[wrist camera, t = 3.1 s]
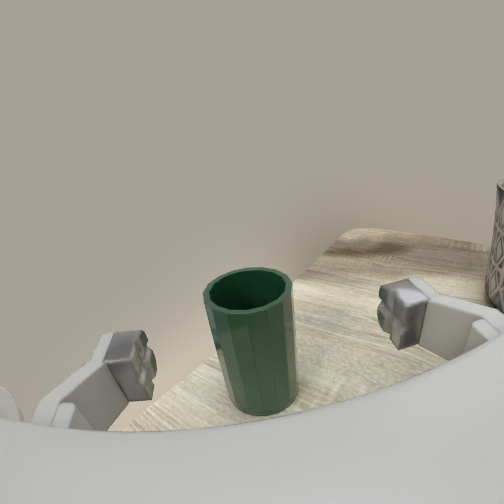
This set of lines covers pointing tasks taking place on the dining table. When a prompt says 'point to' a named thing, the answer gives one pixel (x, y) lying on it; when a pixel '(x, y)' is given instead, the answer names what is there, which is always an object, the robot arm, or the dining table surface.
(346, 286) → the dining table surface
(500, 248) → the planter
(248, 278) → the slim cup
